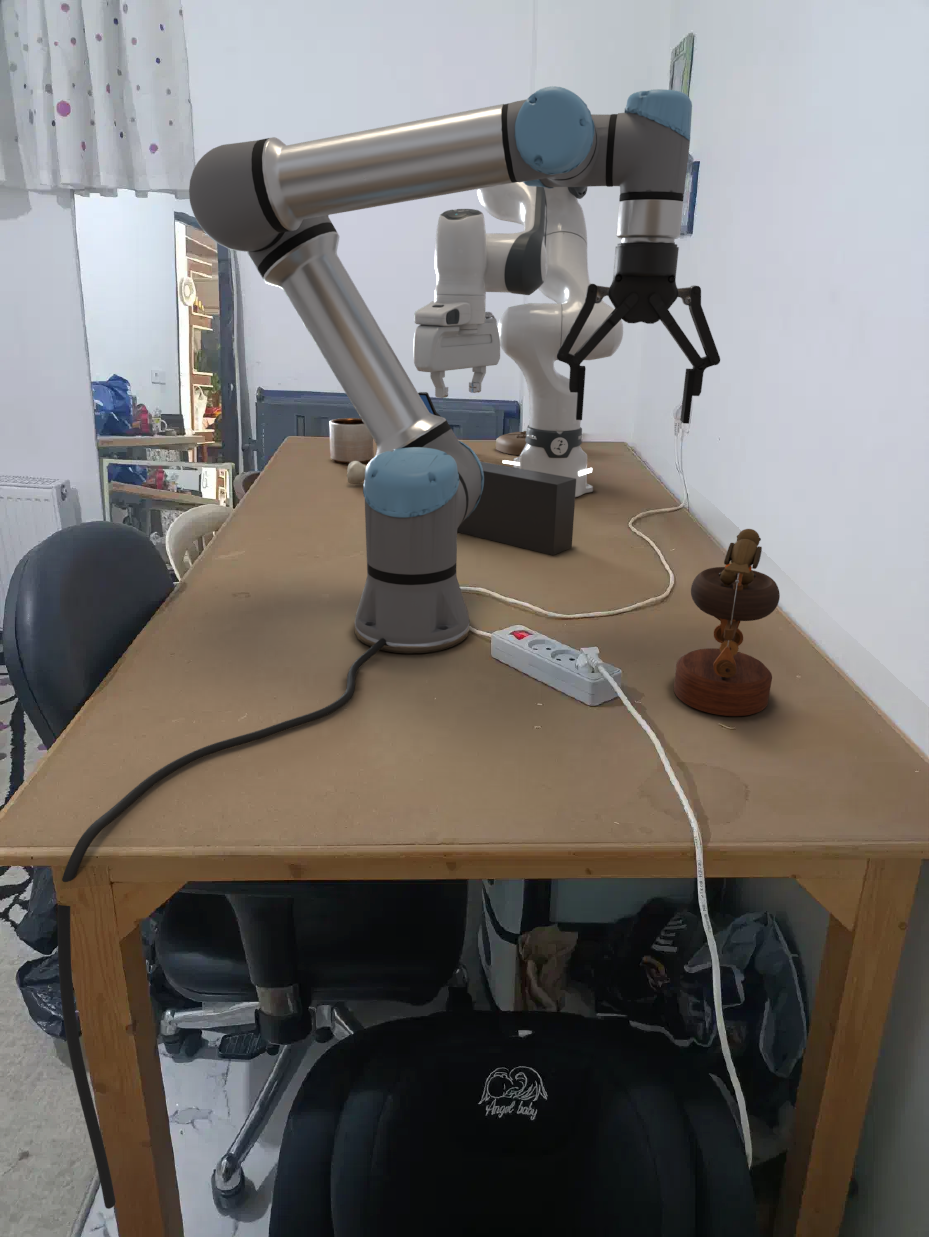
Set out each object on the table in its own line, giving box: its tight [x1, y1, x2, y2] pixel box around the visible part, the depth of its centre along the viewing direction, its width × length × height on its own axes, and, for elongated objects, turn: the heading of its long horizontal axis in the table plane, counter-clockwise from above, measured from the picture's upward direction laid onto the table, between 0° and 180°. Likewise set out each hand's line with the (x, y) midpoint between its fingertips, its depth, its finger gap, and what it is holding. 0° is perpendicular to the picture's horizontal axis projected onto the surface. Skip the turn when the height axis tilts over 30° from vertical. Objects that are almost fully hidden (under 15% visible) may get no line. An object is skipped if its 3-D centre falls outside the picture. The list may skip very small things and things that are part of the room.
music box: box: [673, 528, 781, 717], centre depth 94 cm, size 15×11×20 cm
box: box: [457, 460, 576, 556], centre depth 152 cm, size 28×6×12 cm, turn 51°
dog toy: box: [346, 461, 367, 485], centre depth 190 cm, size 20×6×5 cm, turn 99°
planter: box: [328, 417, 375, 464], centre depth 212 cm, size 11×11×10 cm
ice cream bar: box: [495, 430, 527, 456], centre depth 223 cm, size 21×28×4 cm
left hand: (631, 420), depth 110 cm, fingers open, 13 cm apart
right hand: (458, 395), depth 151 cm, fingers open, 8 cm apart
